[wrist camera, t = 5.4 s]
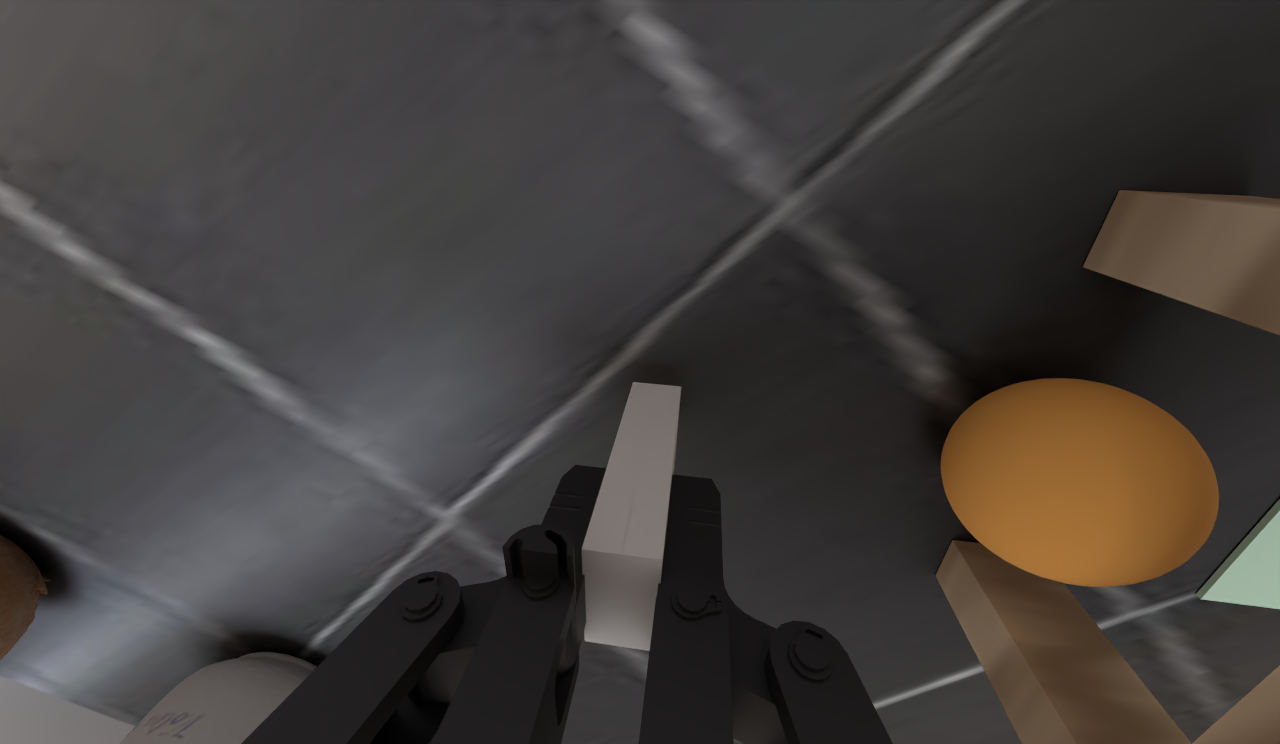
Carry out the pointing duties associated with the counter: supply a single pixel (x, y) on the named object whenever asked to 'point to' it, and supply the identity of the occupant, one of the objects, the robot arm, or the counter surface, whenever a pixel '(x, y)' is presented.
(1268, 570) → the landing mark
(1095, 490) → the ball
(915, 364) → the counter surface
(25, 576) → the onion
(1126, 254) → the bridge
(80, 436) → the counter surface
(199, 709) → the teacup
